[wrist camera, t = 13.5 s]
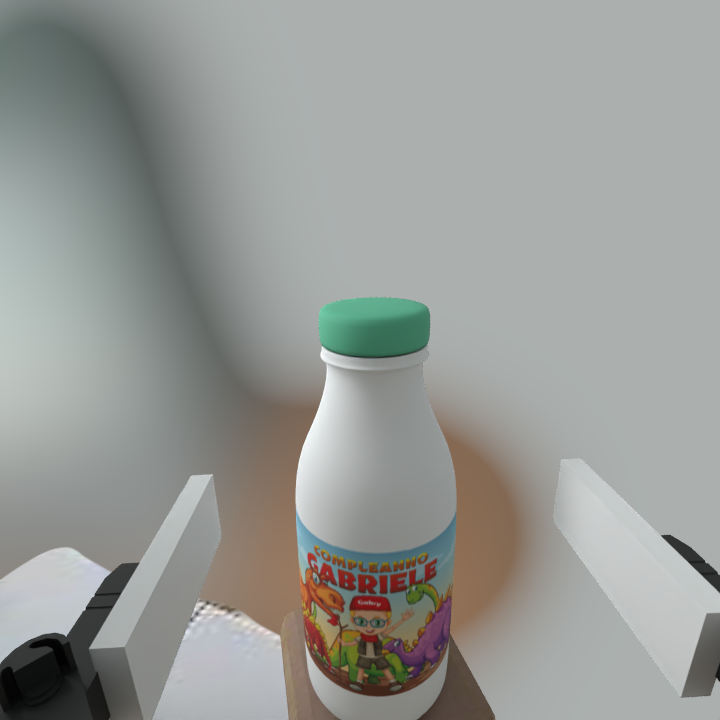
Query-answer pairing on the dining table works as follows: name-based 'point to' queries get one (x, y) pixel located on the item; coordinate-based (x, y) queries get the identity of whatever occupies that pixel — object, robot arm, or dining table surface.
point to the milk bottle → (376, 518)
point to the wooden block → (310, 716)
